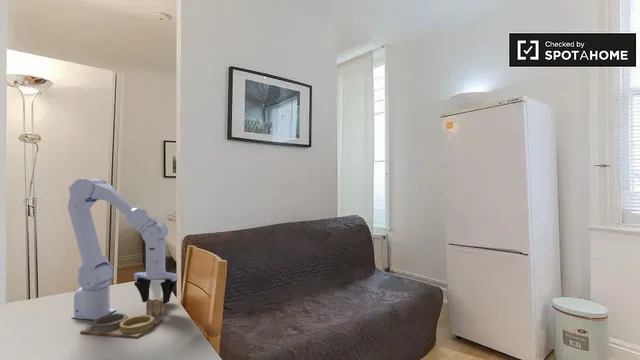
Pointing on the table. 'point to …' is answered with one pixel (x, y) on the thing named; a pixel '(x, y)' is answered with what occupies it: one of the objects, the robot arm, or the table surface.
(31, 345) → the table surface
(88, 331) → the gear board
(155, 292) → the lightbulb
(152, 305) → the gear
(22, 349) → the table surface
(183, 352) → the table surface
